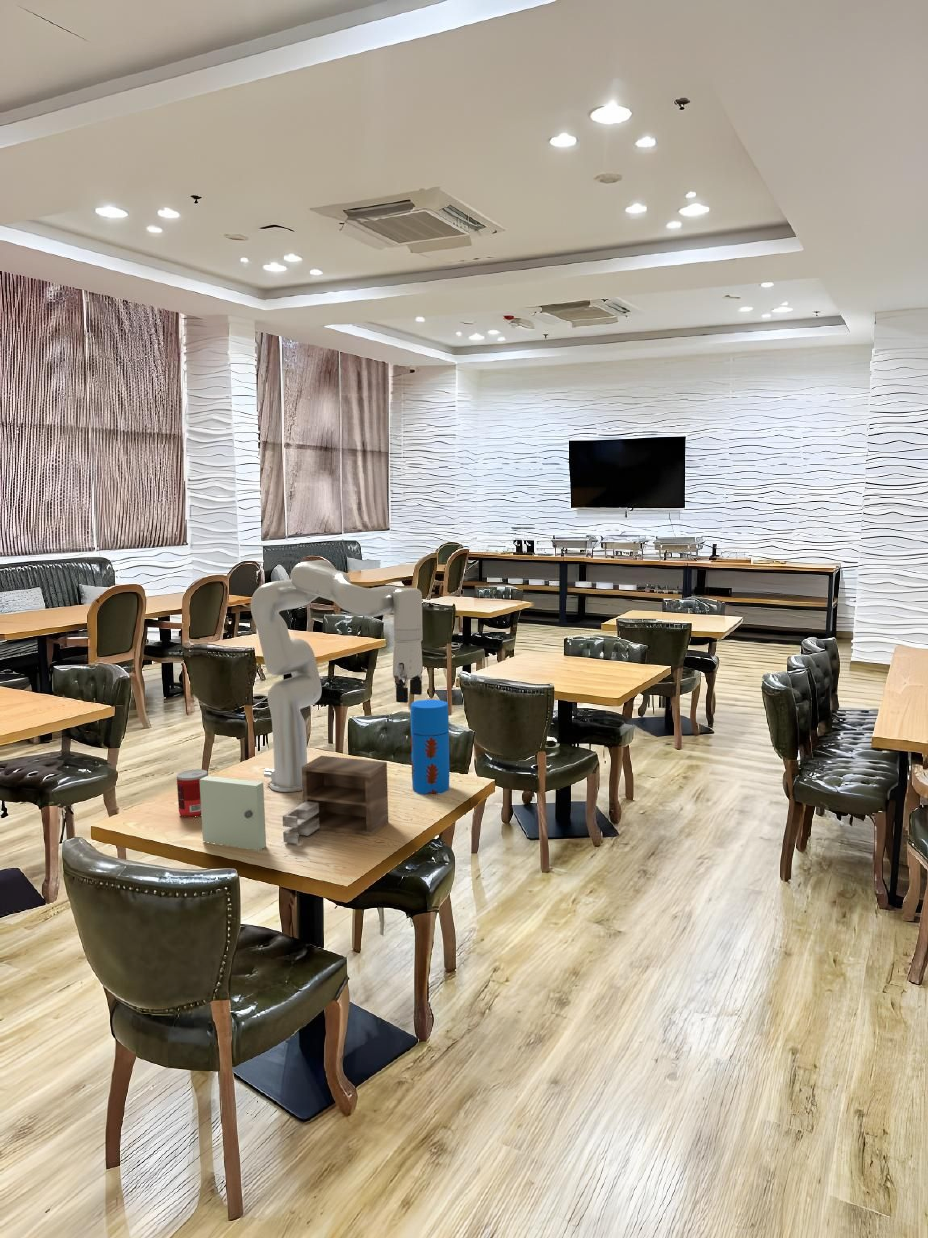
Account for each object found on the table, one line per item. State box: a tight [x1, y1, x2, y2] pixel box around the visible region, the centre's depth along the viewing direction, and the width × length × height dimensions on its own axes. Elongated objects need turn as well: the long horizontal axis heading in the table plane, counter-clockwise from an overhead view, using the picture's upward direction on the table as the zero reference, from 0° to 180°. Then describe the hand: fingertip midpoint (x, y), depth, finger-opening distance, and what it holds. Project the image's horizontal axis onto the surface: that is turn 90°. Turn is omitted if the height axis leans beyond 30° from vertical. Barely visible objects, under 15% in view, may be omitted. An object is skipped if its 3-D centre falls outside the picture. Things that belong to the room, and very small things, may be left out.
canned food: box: [176, 768, 209, 818], centre depth 232 cm, size 8×8×11 cm
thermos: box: [409, 699, 450, 796], centre depth 248 cm, size 11×11×25 cm
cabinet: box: [282, 755, 389, 845], centre depth 217 cm, size 19×21×16 cm
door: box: [200, 775, 267, 852], centre depth 210 cm, size 16×4×16 cm, turn 70°
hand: (409, 698), depth 232 cm, fingers open, 9 cm apart
